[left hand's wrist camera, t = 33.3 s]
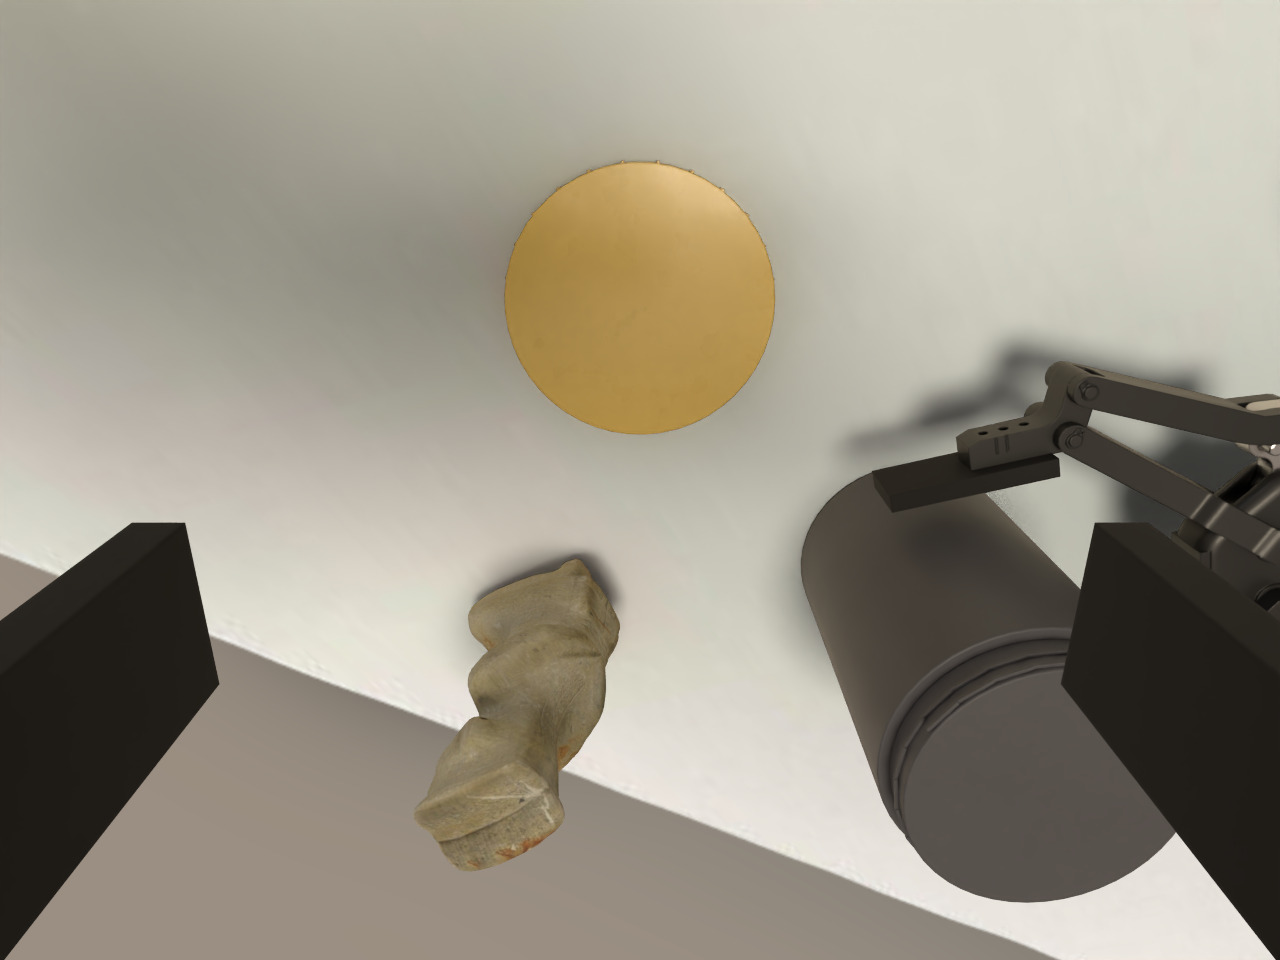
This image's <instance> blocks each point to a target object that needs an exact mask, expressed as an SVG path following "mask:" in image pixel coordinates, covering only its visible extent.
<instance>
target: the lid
mask: <svg viewBox="0 0 1280 960" xmlns="http://www.w3.org/2000/svg"><path fill="white" fill-rule="evenodd" d="M556 190H557V191H556V192H555V193H554V194H553V195H551V196H550V197H549V198H548V199H547V200H546V201H545V202H544V203H543V204H542V205H541V206H540V207H539V208H538V209H537V210H536V211H535V212H533V213H532V214H531V215H532V217H531V219H530V220H529V221H528V223H527V224H526V225H525V227H524V229H523V231H522V233H521V235H520V237H519V238H518V240H517V242H516V243H515V244H514V246H515V248H514V250H513V253H512V256H511V258H510V262H509V267H508V271H507V275H506V277H505V279H506V285H505V314H506V320H507V326H508V331H509V334H510V337H511V341H512V344H513V347H514V349H515V351H516V354H517V356H518V358H519V360H520V362H521V364H522V366H523V367H524V369H525V371H526V372H527V374H528V376H529V377H530V378H531V380H532V381H533V382H534V383H535V385H536V386H537V387H538V388H539V390H540V391H541V392H542V393H543V394H544V395H545V396H546V397H548V398H549V399H550V400H551V401H552V402H553V403H554V404H555V405H557V406H558V407H559V408H561V409H562V410H563V411H565V412H566V413H568V414H570V415H571V416H573V417H575V418H577V419H578V420H580V421H583V422H585V423H587V424H590V425H592V426H594V427H597V428H601V429H605V430H608V431H612V432H618V433H625V434H653V433H662V432H667V431H671V430H675V429H679V428H682V427H685V426H687V425H690V424H693V423H695V422H697V421H699V420H701V419H703V418H705V417H707V416H709V415H710V414H712V413H713V412H714V411H716V410H717V409H719V408H720V407H722V406H723V405H724V404H725V403H726V402H728V401H729V400H730V399H731V398H732V397H733V396H734V395H735V394H736V393H737V392H738V391H739V390H740V389H741V388H742V386H743V385H744V384H745V383H746V382H747V380H748V379H749V377H750V376H751V375H752V373H753V372H754V370H755V369H756V367H757V365H758V363H759V361H760V359H761V357H762V355H763V353H764V351H765V348H766V345H767V342H768V339H769V336H770V332H771V328H772V323H773V318H774V306H775V291H774V278H773V274H772V268H771V264H770V261H769V258H768V254H767V251H766V248H765V247H766V245H765V244H764V243H763V242H762V240H761V238H760V236H759V233H758V231H757V230H756V228H755V227H754V225H753V224H752V222H751V221H750V219H749V218H748V217H749V215H748V214H747V213H746V212H744V211H743V210H742V209H741V208H740V207H739V206H738V204H737V203H736V202H735V201H734V200H733V199H731V198H730V197H729V196H728V195H727V194H726V193H725V192H724V191H725V190H724V189H723V188H721V187H720V188H718V187H717V186H715V185H713V184H712V183H710V182H709V181H707V180H706V179H704V178H702V177H700V176H698V175H696V174H694V171H693V170H690V171H687V170H684V169H681V168H678V167H675V166H672V165H668V164H662V163H660V161H656V162H638V161H633V162H625V161H624V160H622V161H621V163H616V164H612V165H608V166H605V167H601V168H598V169H595V170H593V171H591V169H589V170H587V173H586V174H583V175H581V176H579V177H578V178H576V179H574V180H573V181H571V182H569V183H567V184H566V185H564V186H563V187H561V186H560V187H558V188H557V189H556Z"/></svg>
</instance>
